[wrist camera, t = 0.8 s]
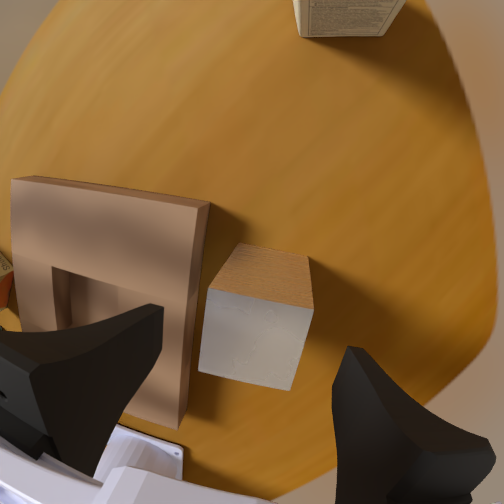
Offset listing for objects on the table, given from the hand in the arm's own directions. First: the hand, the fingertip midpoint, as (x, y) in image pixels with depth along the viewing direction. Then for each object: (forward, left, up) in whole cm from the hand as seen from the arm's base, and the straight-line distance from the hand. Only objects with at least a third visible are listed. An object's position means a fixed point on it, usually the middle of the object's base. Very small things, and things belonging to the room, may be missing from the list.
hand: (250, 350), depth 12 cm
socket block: (-4, +11, -8) cm, 14 cm away
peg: (0, 0, -8) cm, 8 cm away
